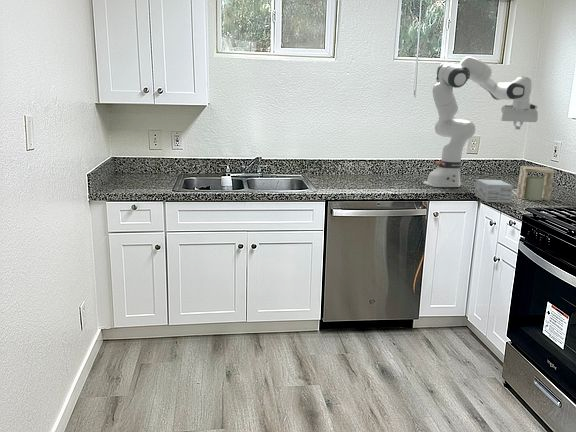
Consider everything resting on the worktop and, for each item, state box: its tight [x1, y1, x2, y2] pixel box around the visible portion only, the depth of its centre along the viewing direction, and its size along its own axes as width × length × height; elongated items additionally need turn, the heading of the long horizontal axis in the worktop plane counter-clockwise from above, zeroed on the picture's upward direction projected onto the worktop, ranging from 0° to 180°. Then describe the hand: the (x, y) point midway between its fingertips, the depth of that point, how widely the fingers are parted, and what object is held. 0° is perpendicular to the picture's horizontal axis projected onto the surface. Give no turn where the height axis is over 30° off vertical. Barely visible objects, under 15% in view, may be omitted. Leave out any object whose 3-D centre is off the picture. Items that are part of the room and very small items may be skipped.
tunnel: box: [512, 165, 555, 202], centre depth 278 cm, size 24×14×16 cm, turn 171°
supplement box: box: [474, 178, 514, 204], centre depth 267 cm, size 17×13×9 cm
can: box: [524, 175, 545, 201], centre depth 271 cm, size 9×9×12 cm
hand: (517, 129), depth 302 cm, fingers closed
